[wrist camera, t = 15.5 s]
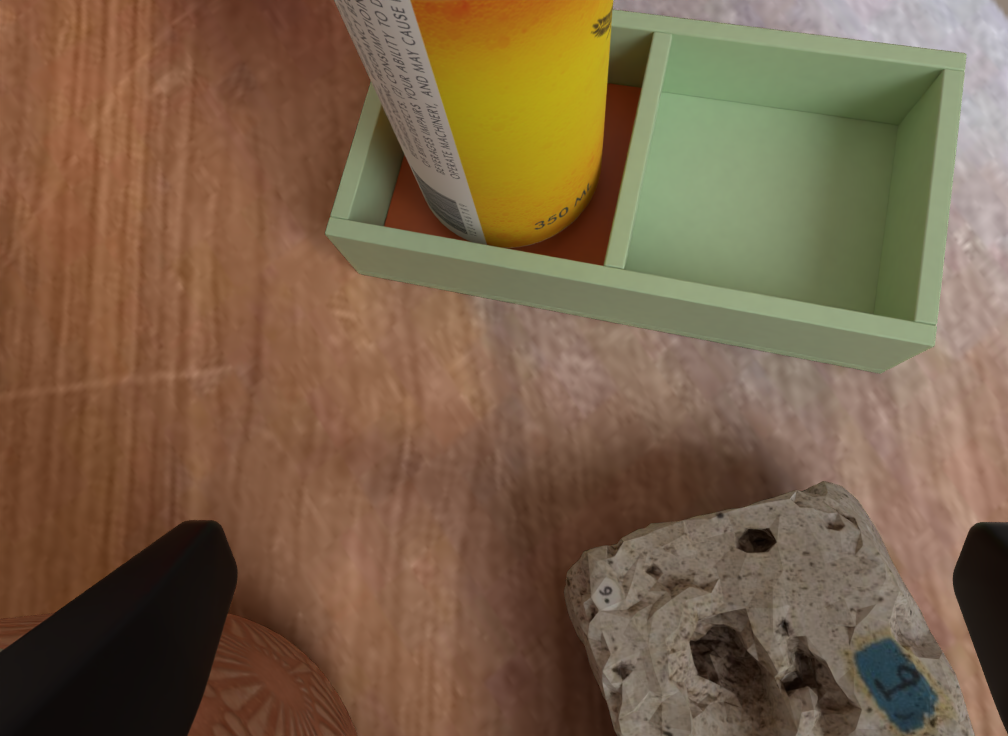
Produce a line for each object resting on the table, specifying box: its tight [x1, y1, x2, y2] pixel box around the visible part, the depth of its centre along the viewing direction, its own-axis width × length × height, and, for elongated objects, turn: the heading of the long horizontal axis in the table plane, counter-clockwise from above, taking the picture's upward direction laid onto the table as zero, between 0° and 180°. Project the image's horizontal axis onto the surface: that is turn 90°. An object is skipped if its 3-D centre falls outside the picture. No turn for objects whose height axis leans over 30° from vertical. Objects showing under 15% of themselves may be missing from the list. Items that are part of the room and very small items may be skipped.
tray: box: [325, 10, 966, 373], centre depth 22 cm, size 9×17×3 cm, turn 77°
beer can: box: [334, 0, 613, 248], centre depth 16 cm, size 6×6×15 cm
